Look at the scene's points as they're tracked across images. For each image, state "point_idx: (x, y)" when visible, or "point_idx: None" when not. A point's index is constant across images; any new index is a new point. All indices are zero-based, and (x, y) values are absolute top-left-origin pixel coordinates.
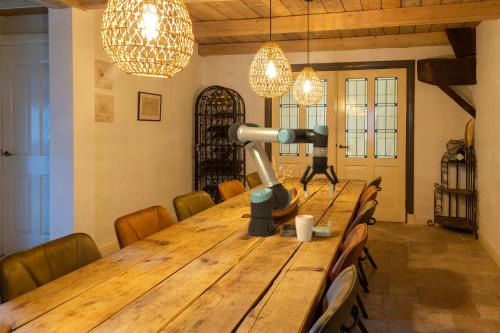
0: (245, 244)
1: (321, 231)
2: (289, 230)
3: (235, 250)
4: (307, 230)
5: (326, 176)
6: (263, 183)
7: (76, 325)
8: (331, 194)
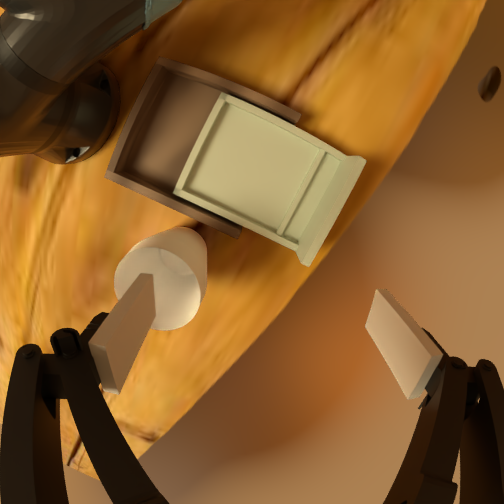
0: (20, 244)
1: (294, 182)
2: (136, 189)
3: (9, 288)
4: (173, 299)
5: (423, 449)
6: None
7: None
8: (375, 332)
